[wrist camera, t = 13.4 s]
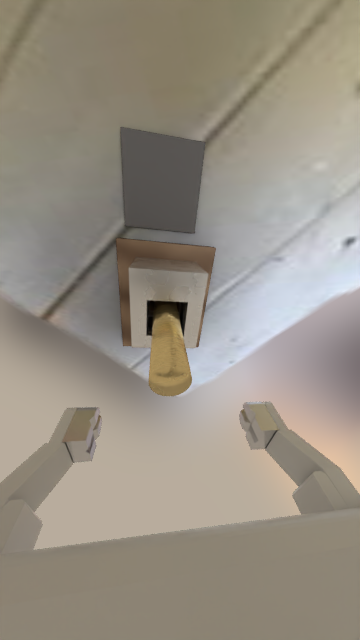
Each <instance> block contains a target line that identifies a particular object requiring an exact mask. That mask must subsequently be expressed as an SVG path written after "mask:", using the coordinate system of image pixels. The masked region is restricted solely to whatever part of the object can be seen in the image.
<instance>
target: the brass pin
mask: <svg viewBox="0 0 360 640" xmlns="http://www.w3.org/2000/svg"><path fill="white" fill-rule="evenodd" d="M191 382H192V377H191V372H190V367H189V362H188V357H187V353H186V348H185V343H184V338H183V334H182V329H181V324H180V319H179V315H178V310H177V305H176V302H173V301H154V314H153V328H152V342H151V356H150V370H149V386H150V388H151V390H152V391H154V392H155V393H157V394H159V395H162V396H175V395H178V394H181V393H183V392H184V391H186V390H187V389H188V388H189V387H190V385H191Z"/></svg>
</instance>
